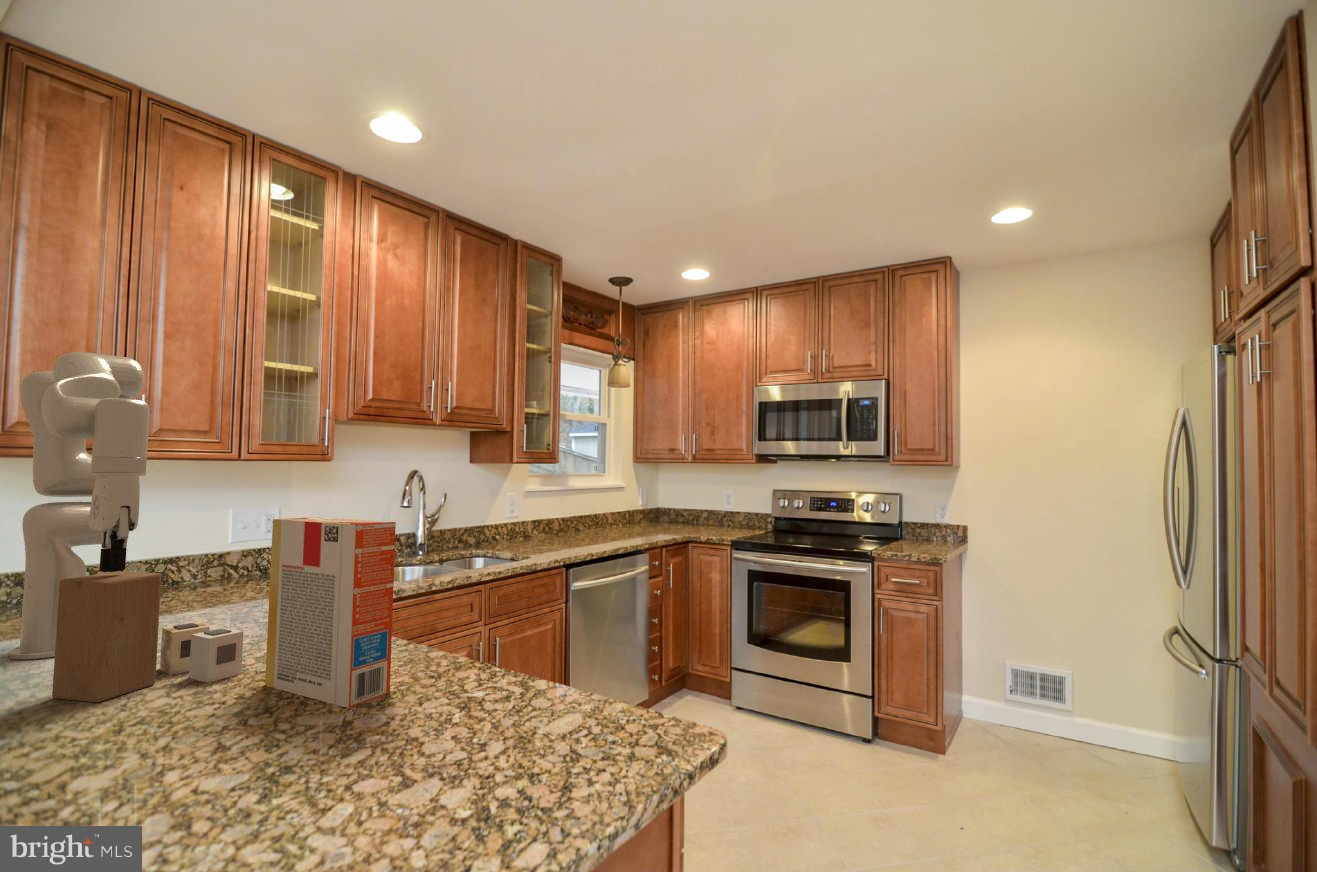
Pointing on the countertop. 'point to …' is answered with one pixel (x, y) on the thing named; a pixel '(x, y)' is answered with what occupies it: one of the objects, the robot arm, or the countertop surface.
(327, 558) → the pasta box
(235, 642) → the marked grey block
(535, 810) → the countertop surface
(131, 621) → the wooden block
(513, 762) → the countertop surface
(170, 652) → the marked beech block
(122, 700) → the countertop surface
